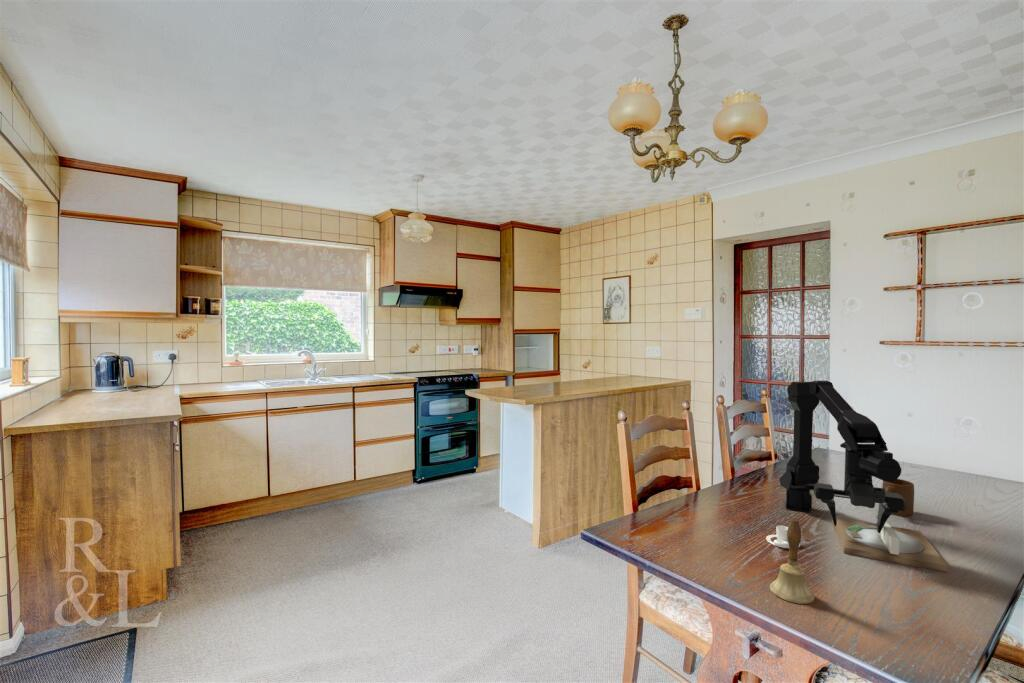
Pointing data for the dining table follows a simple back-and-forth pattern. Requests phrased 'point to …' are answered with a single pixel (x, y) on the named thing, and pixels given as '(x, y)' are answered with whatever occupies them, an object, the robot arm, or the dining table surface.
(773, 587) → the hand bell
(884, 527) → the dial pointer lever
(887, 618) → the dining table surface
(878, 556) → the tuner board
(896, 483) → the mug
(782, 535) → the teacup and saucer
